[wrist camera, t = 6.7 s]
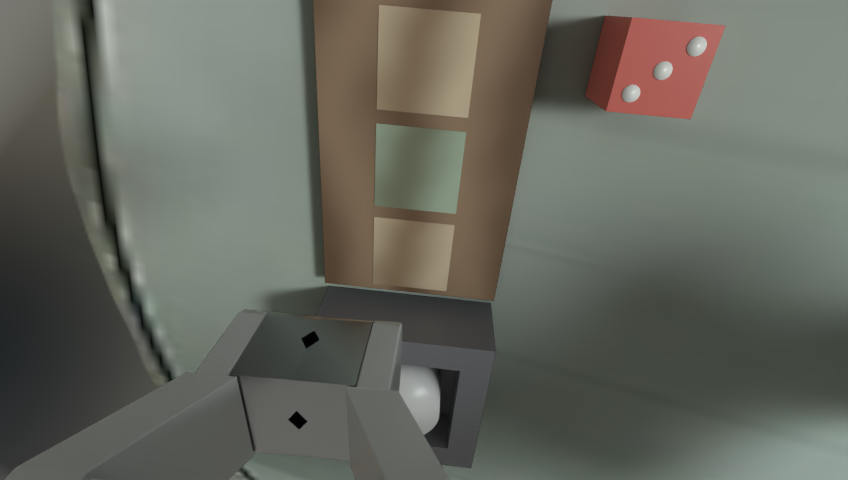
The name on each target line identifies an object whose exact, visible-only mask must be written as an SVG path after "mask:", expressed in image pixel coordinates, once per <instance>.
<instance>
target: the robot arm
mask: <svg viewBox="0 0 848 480" xmlns="http://www.w3.org/2000/svg"><path fill="white" fill-rule="evenodd" d="M402 331H403V329H402V323H401V322H390V321H366V320H353V319H340V318H327V317H318V316H308V315H299V314H290V313H280V312H267V311H257V310H248V309H245V310H243V311H241V312H239V313H238V314H237V316H236V317H235V318H234V320H233V321H232V322H231V324H230V325H229V327H228V328H227V329H226V331H225V332H224V334H223V335H222V336H221V338H220V339H219V341H218V342H217V343H216V345H215V346H214V347H213V349H212V350H211V352H210V353H209V354H208V356H207V357H206V359H205V360H204V361H203V363H202V364H201V366H200V367H199V368H198V370H197V371H196V372H195V373H190V372H186V373H184V374H183V375H181V376H179V377H177V378H175V379H174V380H172V381H170V382H168V383H166V384H165V385H163V386H161V387H159V388H157V389H156V390H154V391H152V392H150V393H149V394H147V395H145V396H143V397H141V398H140V399H138V400H136V401H134V402H132V403H131V404H129V405H127V406H125V407H123V408H122V409H120V410H118V411H116V412H114V413H113V414H111V415H109V416H107V417H106V418H104V419H102V420H100V421H98V422H96V423H95V424H93V425H91V426H89V427H88V428H86V429H84V430H82V431H80V432H79V433H77V434H75V435H73V436H72V437H70V438H68V439H66V440H64V441H62V442H61V443H59V444H57V445H55V446H53V447H52V448H50V449H48V450H46V451H44V452H43V453H41V454H39V455H37V456H35V457H34V458H32V459H30V460H28V461H27V462H25V463H23V464H21V465H20V466H18V467H16V468H15V469H14V470H13V471H12V472H11V473H10V474H9V475H8V476H7V477H6V479H5V480H228V479H229V478H231V477H232V476H233V475H234V474H235V473H236V472H237V471H238V470H239V469H240V468H241V467H242V466H243V465H244V464H245V463H247V462H248V461H249V460H250V459H251V458H252V457H253V456H254V452H256V453H271V454H286V455H302V456H310V457H318V458H326V459H334V460H342V461H350V465H351V468H352V471H353V474H354V477H355V480H449V478H448V476H447V474H446V473H445V471H444V469H443V467H442V466H441V464H440V462H439V461H438V459H437V457H436V455H435V454H434V452H433V450H432V448H431V447H430V445H429V443H428V441H427V440H426V438H425V436H424V435H423V433H422V431H421V429H420V428H419V426H418V424H417V422H416V421H415V419H414V417H413V416H412V414H411V412H410V410H409V409H408V407H407V405H406V403H405V402H404V400H403V398H402V396H401V395H400V393H399V389H400V376H401V357H402Z"/></svg>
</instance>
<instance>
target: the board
mask: <svg viewBox="0 0 848 480" xmlns="http://www.w3.org/2000/svg"><path fill="white" fill-rule="evenodd" d="M551 5H552V0H313V10H314V33H315V56H316V79H317V103H318V126H319V149H320V172H321V195H322V219H323V242H324V265H325V283H333V284H343V285H352V286H361V287H370V288H380V289H389V290H398V291H407V292H417V293H426V294H435V295H445V296H454V297H463V298H472V299H482V300H491V301H494V298H495V293H496V288H497V283H498V277H499V272H500V267H501V262H502V257H503V252H504V247H505V241H506V236H507V231H508V226H509V221H510V216H511V211H512V205H513V200H514V195H515V190H516V185H517V180H518V175H519V169H520V164H521V159H522V154H523V149H524V144H525V139H526V133H527V128H528V123H529V118H530V113H531V108H532V103H533V97H534V92H535V87H536V82H537V77H538V72H539V67H540V61H541V56H542V51H543V46H544V41H545V36H546V31H547V25H548V20H549V15H550V10H551Z"/></svg>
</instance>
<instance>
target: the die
mask: <svg viewBox="0 0 848 480" xmlns="http://www.w3.org/2000/svg"><path fill="white" fill-rule="evenodd" d="M724 29H725V26H723V25H712V24H700V23H689V22H677V21H666V20H655V19H643V18H632V17H617V16H605V18H604V22H603V26H602V30H601V34H600V38H599V42H598V46H597V50H596V54H595V58H594V62H593V66H592V70H591V74H590V78H589V82H588V86H587V90H586V94H585V96H586V97H587V98H589V99H590V100H591V101H593V102H594V103H595V104H597V105H598V106H600V107H601V108H602V109H604V110H605V111H609V112H620V113H630V114H641V115H652V116H662V117H673V118H684V119H691V117H692V114H693V111H694V109H695V106H696V103H697V101H698V98H699V95H700V93H701V90H702V87H703V85H704V82H705V79H706V77H707V74H708V71H709V69H710V66H711V63H712V61H713V58H714V55H715V53H716V50H717V47H718V45H719V42H720V39H721V37H722V34H723V31H724Z"/></svg>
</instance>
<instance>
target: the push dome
mask: <svg viewBox="0 0 848 480" xmlns="http://www.w3.org/2000/svg"><path fill="white" fill-rule="evenodd" d="M399 393H400V395H401V396H402V398H403V400H404V402H405V403H406V405H407V407H408V409H409V410H410V412H411V414H412V416H413V417H414V419H415V421H416V422H417V424H418V426H419V428H420V429H421V431H422V433H423V435H425V434H426V433H428V432H429V431H431V430H432V429H433V428H434V427H435V425H436V424H437V422H438V419H439V412H440V393H441V375H440V372H439V370H438V368H429V367H420V366H411V365H402V364H401V376H400V389H399Z"/></svg>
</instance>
